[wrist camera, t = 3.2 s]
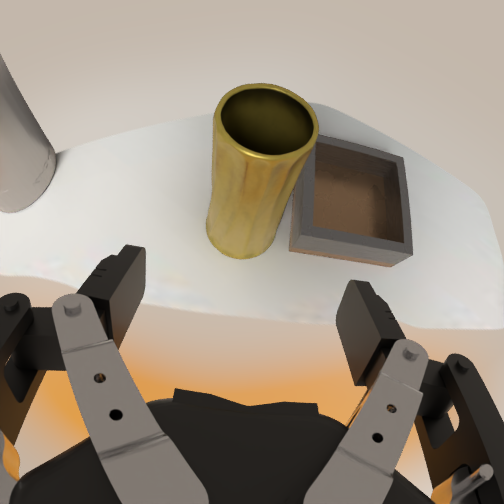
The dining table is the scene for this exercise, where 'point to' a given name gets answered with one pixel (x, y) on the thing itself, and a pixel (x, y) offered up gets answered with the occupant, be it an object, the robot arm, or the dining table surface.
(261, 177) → the vase
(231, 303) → the dining table surface
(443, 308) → the dining table surface
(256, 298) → the dining table surface
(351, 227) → the square grey tray
